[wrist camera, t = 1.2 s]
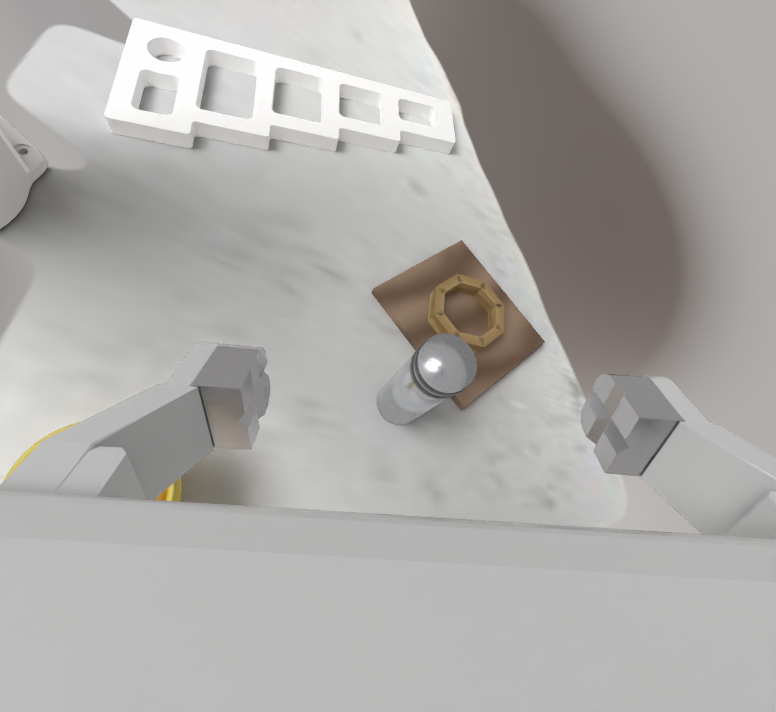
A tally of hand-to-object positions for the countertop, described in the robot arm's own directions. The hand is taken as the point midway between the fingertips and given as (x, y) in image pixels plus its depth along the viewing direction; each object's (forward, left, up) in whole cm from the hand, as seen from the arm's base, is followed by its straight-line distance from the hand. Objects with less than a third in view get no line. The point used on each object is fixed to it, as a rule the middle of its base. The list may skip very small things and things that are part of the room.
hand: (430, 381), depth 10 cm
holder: (-41, +28, -34) cm, 60 cm away
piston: (-1, +13, -34) cm, 36 cm away
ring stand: (-5, +27, -34) cm, 43 cm away
